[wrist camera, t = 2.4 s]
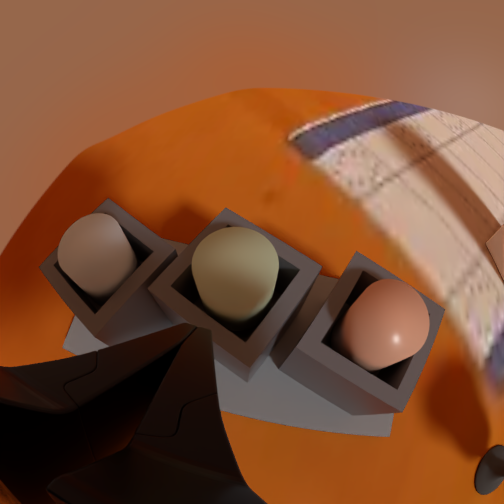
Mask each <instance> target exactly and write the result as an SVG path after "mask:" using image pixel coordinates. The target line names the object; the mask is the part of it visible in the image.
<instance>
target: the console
mask: <svg viewBox="0 0 504 504" xmlns="http://www.w3.org/2000/svg"><path fill="white" fill-rule="evenodd" d="M95 213H103V214H107V215H110V216H111V217H113V218H114V219H115V220H116V221H117V222H118V224H119V225H120V227H121V229H122V231H123V233H124V235H125V236H126V238H127V240H128V242H129V244H130V245H131V247H132V249H133V251H134V252H135V254H136V256H137V258H138V259H139V261H140V263H141V265H140V266H139V267H138V268H137V270H136V271H135V272H134V273H133V274H132V275H131V276H130V277H129V278H128V279H127V280H126V281H125V282H124V283H123V284H122V285H121V287H120V288H119V289H118V290H117V291H116V292H115V293H114V294H113V295H112V296H111V297H110V299H109V300H108V301H107V302H106V303H105V304H104V305H103V306H100V305H99V304H97V303H96V302H95V301H94V300H93V299H92V298H91V297H90V296H89V295H88V294H87V293H85V292H84V291H83V290H82V289H81V288H80V287H79V286H78V285H77V284H76V283H75V282H74V281H73V280H72V279H71V278H70V277H69V276H68V275H67V274H66V273H65V272H64V271H63V270H62V268H61V267H60V265H59V262H58V247H59V246H58V247H57V248H56V249H55V250H54V251H53V252H52V253H51V254H50V255H49V256H48V257H47V259H46V260H45V261H44V262H43V263H42V264H41V265H40V266H39V268H40V270H41V271H42V273H43V274H44V275H45V277H46V278H47V279H48V281H49V282H50V284H51V285H52V286H53V288H54V289H55V290H56V292H57V293H58V294H59V295H60V297H61V298H62V299H63V301H64V302H65V303H66V304H67V306H68V307H69V308H70V309H71V310H72V312H73V313H74V314H75V317H74V319H73V322H72V324H71V327H70V329H69V332H68V334H67V337H66V339H65V342H64V345H63V347H62V348H64V349H66V350H68V351H70V352H72V353H74V354H76V355H81V354H85V353H88V352H92V351H98V350H99V349H102V348H106V347H109V346H112V345H116V344H119V343H122V342H125V341H129V340H132V339H135V338H138V337H141V336H145V335H148V334H151V333H154V332H157V331H160V330H163V329H166V328H169V327H172V326H175V325H178V324H181V323H189V324H193V325H196V326H197V327H203V328H207V329H210V330H211V331H212V341H213V352H214V362H215V372H216V382H217V391H218V398H219V406H220V410H222V411H226V412H229V413H233V414H237V415H241V416H245V417H250V418H254V419H258V420H263V421H268V422H273V423H278V424H283V425H288V426H294V427H300V428H306V429H313V430H320V431H327V432H335V433H344V434H355V435H367V436H385V437H390V432H391V426H392V421H393V415H394V413H400V412H403V410H404V408H405V406H406V404H407V402H408V400H409V398H410V396H411V394H412V392H413V390H414V388H415V385H416V383H417V381H418V379H419V377H420V374H421V372H422V370H423V367H424V365H425V363H426V360H427V358H428V355H429V353H430V350H431V348H432V345H433V343H434V340H435V337H436V335H437V332H438V329H439V326H440V323H441V320H442V317H443V314H444V311H445V309H444V308H442V307H441V306H440V305H438V304H437V303H435V302H434V301H432V300H431V299H429V298H428V297H426V296H425V295H423V294H422V293H421V292H419V291H418V290H416V289H415V288H413V287H412V286H411V287H412V288H413V289H415V290H416V291H417V292H418V294H419V295H420V296H421V298H422V299H423V301H424V303H425V305H426V307H427V310H428V314H429V323H430V324H429V332H428V336H427V339H426V341H425V343H424V345H423V346H422V347H421V349H420V350H419V351H418V352H416V353H415V354H414V355H412V356H410V357H408V358H406V359H404V360H401V361H399V362H397V363H395V364H392V365H390V366H387V367H385V368H383V369H380V370H378V371H375V372H373V373H369V372H367V371H366V370H364V369H362V368H361V367H359V366H357V365H356V364H354V363H353V362H351V361H349V360H348V359H346V358H345V357H343V356H341V355H340V354H338V353H337V352H335V351H334V350H332V347H331V335H332V331H333V328H334V326H335V324H336V322H337V321H338V320H339V319H340V318H341V317H342V315H343V314H344V313H345V312H346V311H347V310H348V309H349V308H350V307H351V305H352V304H353V303H354V302H355V301H356V300H357V299H358V297H359V296H360V295H361V294H362V293H363V292H364V291H365V289H366V288H367V287H368V286H370V285H371V284H372V283H374V282H376V281H379V280H382V279H395V280H399V281H402V282H404V281H403V280H401V279H400V278H398V277H396V276H395V275H393V274H392V273H390V272H389V271H387V270H386V269H384V268H383V267H381V266H379V265H378V264H376V263H375V262H373V261H372V260H370V259H368V258H367V257H365V256H364V255H362V254H360V253H359V252H357V251H356V253H355V254H354V256H353V257H352V259H351V261H350V262H349V264H348V266H347V267H346V269H345V270H344V272H343V274H342V275H341V277H340V278H339V279H336V278H332V277H327V276H323V275H319V272H320V270H321V268H322V266H321V265H320V264H318V263H316V262H315V261H313V260H311V259H310V258H308V257H307V256H305V255H303V254H302V253H300V252H299V251H297V250H295V249H294V248H292V247H290V246H289V245H287V244H286V243H284V242H282V241H281V240H279V239H277V238H276V237H274V236H272V235H271V234H269V233H267V232H266V231H264V230H263V229H261V228H259V227H258V226H256V225H254V224H253V223H251V222H249V221H248V220H246V219H244V218H243V217H241V216H239V215H238V214H236V213H234V212H233V211H231V210H229V209H228V208H225V209H224V210H223V211H222V212H221V213H220V214H219V215H218V216H217V217H216V218H215V219H214V220H213V221H212V222H211V223H210V224H209V225H208V226H207V227H206V228H205V229H204V230H203V231H202V232H201V233H200V234H199V235H198V236H197V237H196V238H195V239H194V240H193V241H192V242H191V243H190V244H189V245H188V244H184V243H180V242H176V241H171V240H167V239H163V238H160V237H159V236H158V235H156V234H155V233H153V232H152V231H151V230H149V229H148V228H147V227H145V226H144V225H143V224H142V223H140V222H139V221H138V220H136V219H135V218H134V217H132V216H131V215H130V214H128V213H127V212H126V211H124V210H123V209H122V208H121V207H119V206H118V205H117V204H115V203H114V202H113V201H112V200H110V199H109V198H108V199H106V200H105V201H104V202H103V203H102V204H101V205H100V206H99V207H98V208H97V209H95V210H94V211H93V212H92V213H91V214H95ZM228 227H244V228H248V229H252V230H254V231H256V232H258V233H260V234H262V235H263V236H265V237H266V238H267V239H268V240H269V241H270V242H271V244H272V245H273V247H274V248H275V250H276V252H277V256H278V260H279V269H278V275H277V279H276V284H275V288H274V292H273V297H272V301H271V305H270V308H269V311H268V313H267V315H266V316H265V318H264V319H263V320H262V321H261V322H260V323H259V324H257V325H256V326H254V327H252V328H250V329H247V330H242V331H232V330H227V329H226V328H225V327H223V326H222V325H220V324H219V323H218V322H216V321H215V320H214V319H212V318H211V317H210V316H208V315H207V314H206V312H205V309H204V306H203V303H202V301H201V298H200V295H199V292H198V289H197V286H196V283H195V280H194V277H193V273H192V258H193V255H194V252H195V250H196V248H197V246H198V245H199V244H200V242H201V241H202V240H203V239H204V238H205V237H207V236H208V235H209V234H211V233H213V232H215V231H217V230H220V229H223V228H228ZM404 283H406V282H404ZM406 284H407V283H406ZM408 285H409V284H408Z"/></svg>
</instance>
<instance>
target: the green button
mask: <svg viewBox="0 0 504 504" xmlns="http://www.w3.org/2000/svg"><path fill="white" fill-rule="evenodd" d="M278 269H279V260H278V256H277V252H276V250H275V248H274V247H273V245H272V244H271V242H270V241H269V240H268V239H267V238H266V237H265V236H263V235H262V234H260V233H258V232H256V231H254V230H252V229H248V228H244V227H228V228H223V229H220V230H217V231H215V232H213V233H211V234H209V235H208V236H207V237H205V238H204V239H203V240H202V241H201V242H200V244H199V245H198V246H197V248H196V250H195V252H194V255H193V258H192V273H193V277H194V280H195V283H196V286H197V289H198V292H199V295H200V298H201V301H202V303H203V306H204V309H205V312H206V314H207V315H208V316H210V317H211V318H212V319H214V320H215V321H216V322H218V323H219V324H220V325H222V326H223V327H225V328H226V329H227V330H232V331H242V330H247V329H250V328H252V327H254V326H256V325H257V324H259V323H260V322H261V321H262V320H263V319H264V318H265V316H266V315H267V313H268V311H269V308H270V305H271V301H272V297H273V292H274V288H275V284H276V279H277V275H278Z"/></svg>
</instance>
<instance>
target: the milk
mask: <svg viewBox="0 0 504 504" xmlns="http://www.w3.org/2000/svg"><path fill="white" fill-rule="evenodd" d="M486 246H487V247H488V249H489V251H490V253H491V255H492V257H493V259H494V261H495V263H496V265H497V268H498V270H499V272H500V274H501V276H502V278H503V281H504V224H503V225H502V226H501V227H500V229H499V230H498V231H497V232H496V233H495V234H494V235H493V236H492V237H491V238H490V239H489V240H488V241H487V242H486Z"/></svg>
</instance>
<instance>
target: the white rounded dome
mask: <svg viewBox="0 0 504 504" xmlns="http://www.w3.org/2000/svg"><path fill="white" fill-rule="evenodd" d="M58 262H59V265H60V267H61V268H62V270H63V271H64V272H65V273H66V274H67V275H68V276H69V277H70V278H71V279H72V280H73V281H74V282H75V283H76V284H77V285H78V286H79V287H80V288H81V289H82V290H83V291H84V292H85V293H87V294H88V295H89V296H90V297H91V298H92V299H93V300H94V301H95V302H96V303H97V304H99V305H100V306H103V305H104V304H105V303H106V302H107V301H108V300H109V299H110V297H111V296H112V295H113V294H114V293H115V292H116V291H117V290H118V289H119V288H120V287H121V285H122V284H123V283H124V282H125V281H126V280H127V279H128V278H129V277H130V276H131V275H132V274H133V273H134V272H135V271H136V270H137V268H138V267H139V266H140V265H141V263H140V261H139V259H138V258H137V256H136V254H135V252H134V251H133V249H132V247H131V245H130V244H129V242H128V240H127V238H126V236H125V235H124V233H123V231H122V229H121V227H120V225H119V224H118V222H117V221H116V220H115V219H114V218H113V217H111V216H110V215H107V214H103V213H95V214H90V215H87V216H84V217H82V218H80V219H79V220H77V221H76V222H74V223H73V224H72V225H71V226H70V227H69V228H68V229H67V231H66V232H65V233H64V235H63V237H62V239H61V241H60V243H59V247H58Z"/></svg>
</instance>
